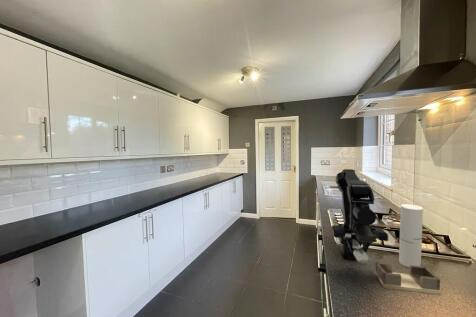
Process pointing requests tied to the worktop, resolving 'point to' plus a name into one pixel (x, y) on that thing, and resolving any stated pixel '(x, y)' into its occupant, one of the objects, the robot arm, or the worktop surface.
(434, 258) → the worktop surface
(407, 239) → the cylindrical container
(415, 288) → the board
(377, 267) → the brackets
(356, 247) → the rail
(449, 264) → the worktop surface
